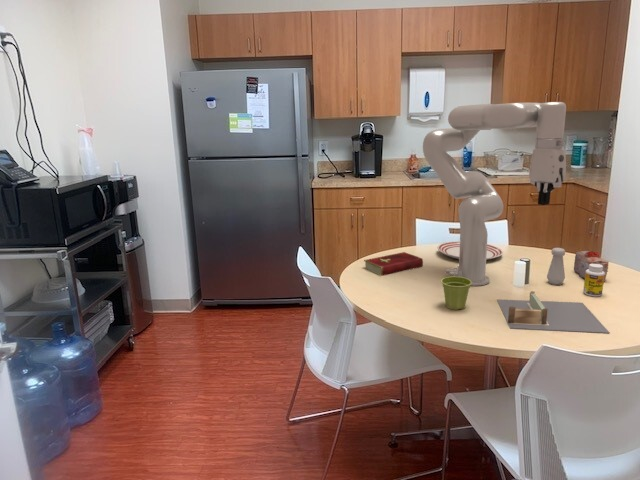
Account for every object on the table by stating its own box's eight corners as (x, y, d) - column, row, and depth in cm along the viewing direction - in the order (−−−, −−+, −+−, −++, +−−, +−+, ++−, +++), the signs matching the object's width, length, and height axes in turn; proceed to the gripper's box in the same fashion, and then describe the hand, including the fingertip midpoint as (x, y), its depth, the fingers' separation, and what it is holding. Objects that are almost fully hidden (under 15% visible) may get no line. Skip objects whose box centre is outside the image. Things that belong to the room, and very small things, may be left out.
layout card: (510, 328, 135) (510, 327, 135) (497, 300, 156) (497, 299, 156) (609, 333, 130) (609, 332, 130) (582, 303, 151) (582, 302, 151)
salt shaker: (566, 286, 166) (569, 251, 163) (548, 285, 167) (552, 250, 164) (561, 280, 172) (564, 246, 168) (544, 280, 173) (547, 246, 170)
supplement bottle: (585, 296, 157) (588, 267, 154) (581, 290, 162) (584, 262, 159) (603, 297, 155) (607, 268, 152) (599, 292, 160) (603, 263, 157)
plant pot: (466, 314, 146) (467, 288, 143) (436, 308, 150) (437, 283, 148) (473, 304, 153) (475, 279, 151) (445, 299, 158) (446, 274, 156)
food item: (610, 283, 168) (613, 256, 166) (587, 283, 169) (590, 257, 166) (590, 271, 181) (593, 246, 179) (569, 271, 182) (571, 246, 179)
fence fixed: (508, 324, 138) (509, 308, 137) (507, 321, 140) (508, 306, 138) (546, 325, 136) (548, 310, 135) (545, 323, 138) (546, 308, 136)
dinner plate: (498, 248, 217) (498, 241, 216) (507, 266, 191) (507, 258, 190) (436, 246, 223) (437, 239, 222) (437, 263, 197) (437, 256, 196)
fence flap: (545, 321, 138) (546, 308, 137) (540, 320, 138) (541, 308, 137) (533, 302, 151) (534, 291, 150) (529, 302, 151) (530, 291, 150)
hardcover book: (422, 267, 193) (423, 257, 192) (381, 277, 183) (381, 266, 182) (404, 260, 203) (404, 251, 202) (364, 269, 194) (364, 259, 192)
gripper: (579, 144, 137) (573, 206, 141) (537, 143, 150) (532, 199, 155) (561, 146, 134) (555, 209, 138) (520, 144, 147) (515, 202, 152)
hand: (543, 204), depth 146 cm, fingers closed
